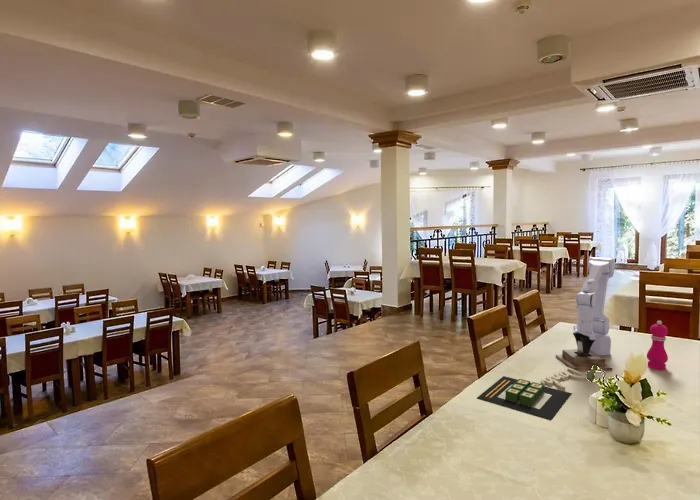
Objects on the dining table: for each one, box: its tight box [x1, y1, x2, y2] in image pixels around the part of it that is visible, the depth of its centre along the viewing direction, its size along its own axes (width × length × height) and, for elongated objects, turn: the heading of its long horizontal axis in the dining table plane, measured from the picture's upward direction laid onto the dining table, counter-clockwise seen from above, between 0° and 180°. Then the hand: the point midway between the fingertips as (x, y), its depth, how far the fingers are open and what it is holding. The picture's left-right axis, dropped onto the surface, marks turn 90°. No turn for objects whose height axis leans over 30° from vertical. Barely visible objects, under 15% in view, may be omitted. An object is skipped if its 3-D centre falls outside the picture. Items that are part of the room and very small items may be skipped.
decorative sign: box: [540, 366, 587, 391], centre depth 168 cm, size 23×2×10 cm
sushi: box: [476, 375, 573, 421], centre depth 155 cm, size 25×25×4 cm
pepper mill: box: [646, 320, 669, 371], centre depth 179 cm, size 7×7×20 cm
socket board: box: [555, 349, 613, 371], centre depth 186 cm, size 16×16×4 cm
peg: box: [576, 340, 588, 357], centre depth 185 cm, size 4×4×7 cm
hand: (583, 351), depth 185 cm, fingers closed on peg, 4 cm apart
